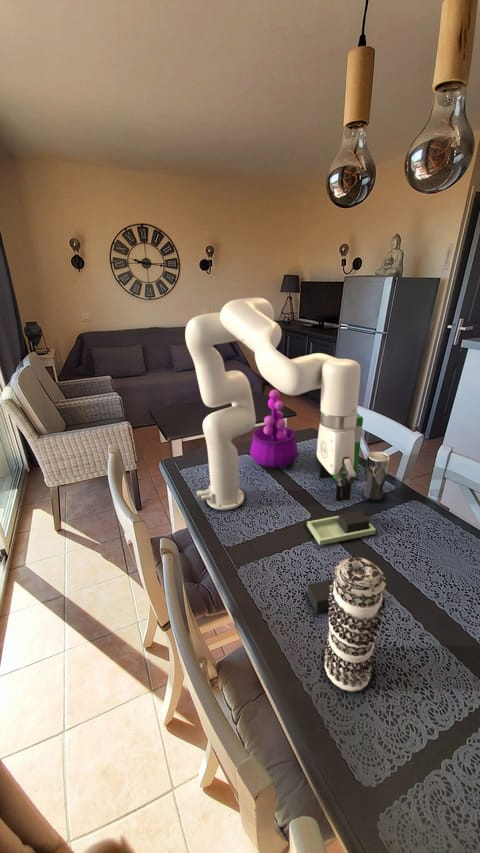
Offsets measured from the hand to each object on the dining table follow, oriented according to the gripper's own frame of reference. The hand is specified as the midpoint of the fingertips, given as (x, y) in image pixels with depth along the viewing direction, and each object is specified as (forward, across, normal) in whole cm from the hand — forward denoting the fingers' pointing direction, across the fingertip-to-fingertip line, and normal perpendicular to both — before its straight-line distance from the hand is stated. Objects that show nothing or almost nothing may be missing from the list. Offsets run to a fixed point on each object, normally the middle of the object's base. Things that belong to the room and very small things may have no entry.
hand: (333, 488), depth 83 cm
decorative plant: (+23, -58, 0) cm, 62 cm away
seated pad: (+23, -14, +13) cm, 30 cm away
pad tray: (+24, -13, +9) cm, 29 cm away
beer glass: (+24, -28, +27) cm, 45 cm away
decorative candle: (+25, +24, -6) cm, 35 cm away
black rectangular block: (+24, +9, -4) cm, 26 cm away
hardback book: (+24, -47, +22) cm, 57 cm away
